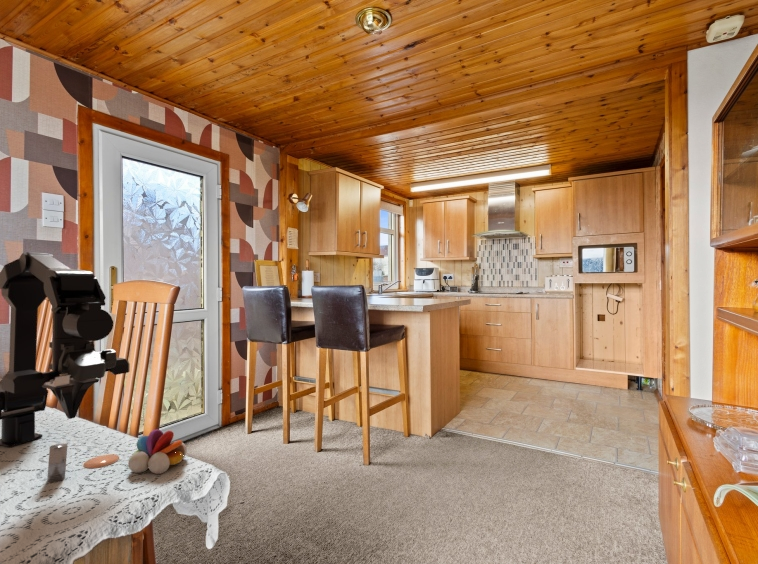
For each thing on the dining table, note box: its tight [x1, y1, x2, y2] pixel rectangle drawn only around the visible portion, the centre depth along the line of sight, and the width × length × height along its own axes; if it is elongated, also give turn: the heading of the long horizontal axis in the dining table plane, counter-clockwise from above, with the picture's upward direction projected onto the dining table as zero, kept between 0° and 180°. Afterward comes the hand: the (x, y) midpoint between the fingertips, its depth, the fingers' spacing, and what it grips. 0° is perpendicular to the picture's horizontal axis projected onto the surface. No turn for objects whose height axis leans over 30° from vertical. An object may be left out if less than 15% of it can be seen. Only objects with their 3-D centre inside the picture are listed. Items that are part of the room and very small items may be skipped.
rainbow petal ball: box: [127, 429, 188, 475], centre depth 79 cm, size 8×10×7 cm
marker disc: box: [82, 454, 120, 469], centre depth 81 cm, size 6×6×1 cm
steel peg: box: [46, 443, 68, 483], centre depth 74 cm, size 3×3×6 cm
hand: (71, 418), depth 76 cm, fingers closed
